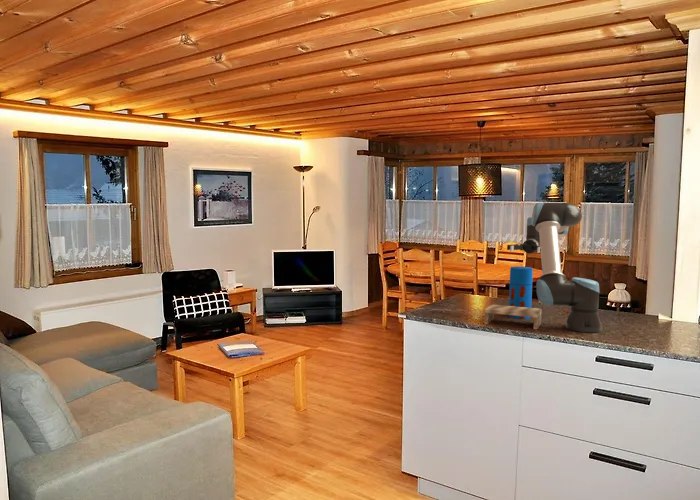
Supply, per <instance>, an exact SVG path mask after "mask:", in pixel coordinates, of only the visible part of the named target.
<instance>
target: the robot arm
mask: <svg viewBox="0 0 700 500" xmlns="http://www.w3.org/2000/svg"><path fill="white" fill-rule="evenodd" d="M582 219H583V214H582V210H581V209H580V208H579V207H578V206H576V205H575V204H573V203H570V202H544V201H543V202H536V203H535V204H534V206H533V208H532V215H531V216H528V217H527V219H526V236H525V241H524V242H523V243H521V244H519V243H516V244H507V245H506V251H510V253H511V252H513V251H518V250H519V251H523V252H524V253H526V254H533V253H535V252H536V253H537V254H539V253H540V258H541V260H540V261H541V272H542V275H540V277H539V279H538V280H537V281H536V284H535V285H536V287H535V288H536V296H537V299H538V302H540V304H541V305H543V306H550V307H551V306H562V307H564V306H565V307H570V312H569V314H568V317H567V319H566V323H565V327H566V329H568V330H569V331H570V330H571V331H574V332H580V333H600V332H601V331H602V327H603V326H602V323H601V320H600V315H599V302H600V284H599V282H598V281H596V280H592V279H588V278H582V277H572V278H571V280H567V277H566V275H565V274H564V273H563V271H562V264H561V253H560V251H561V250H560V242H559V241H560V240H559V235H567V234H568V232H569V228H570V227H571V228H572V227H575V226H577V225H578V224H580V222H581V221H582Z"/></svg>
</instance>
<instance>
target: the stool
mask: <svg viewBox="0 0 700 500" xmlns="http://www.w3.org/2000/svg"><path fill="white" fill-rule="evenodd" d="M495 315H507V316H509V315H516V316H526V317H531V318H533V330H538V329H539V327H540V325H541V324H542V308H536V307H531V308H527V307H516V306H509V305H503V304H502V305H501V304H492V303H491V304H490V305H489V306H488V307H486V308H484V324H485V325H489V323H491V321H493V320H494V317H495Z"/></svg>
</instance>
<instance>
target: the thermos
mask: <svg viewBox="0 0 700 500" xmlns="http://www.w3.org/2000/svg"><path fill="white" fill-rule="evenodd" d="M533 271H534V270H533V267H531V266H510V269H509V291H508V292H509V293H508V294H509V296H508V297H509V299H508V306H516V307H527V308H532V306H533V305H532V303H533V301H532V300H533V298H532V297H533V277H534V276H533V274H534V272H533ZM508 317H509V318H512V319H517V320H529V319H531V318H532V317H526V316H516V315H508Z"/></svg>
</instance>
